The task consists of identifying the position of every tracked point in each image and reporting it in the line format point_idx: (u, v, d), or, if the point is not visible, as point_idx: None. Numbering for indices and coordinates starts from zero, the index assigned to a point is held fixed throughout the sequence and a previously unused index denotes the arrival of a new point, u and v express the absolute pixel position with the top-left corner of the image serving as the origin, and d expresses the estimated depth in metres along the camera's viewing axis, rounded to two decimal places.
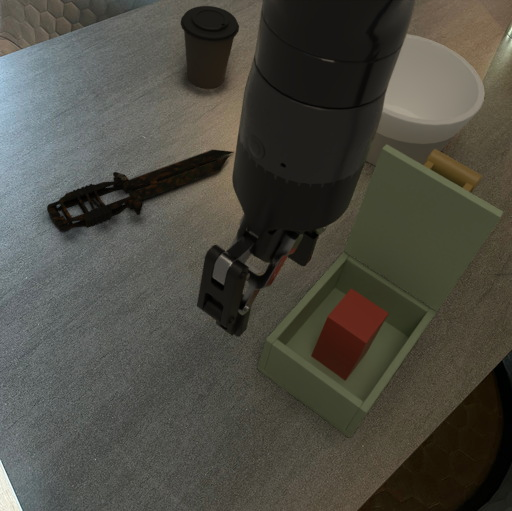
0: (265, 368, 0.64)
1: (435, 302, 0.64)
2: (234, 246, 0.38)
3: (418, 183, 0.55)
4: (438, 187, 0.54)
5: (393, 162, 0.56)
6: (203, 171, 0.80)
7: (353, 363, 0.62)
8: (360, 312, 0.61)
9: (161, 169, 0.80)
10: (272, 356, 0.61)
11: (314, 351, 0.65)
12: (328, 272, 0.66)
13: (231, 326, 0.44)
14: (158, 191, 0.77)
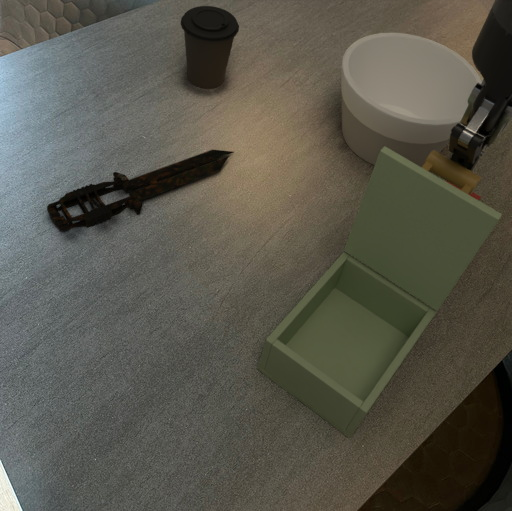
0: (265, 368, 0.64)
1: (435, 302, 0.64)
2: (471, 122, 0.51)
3: (416, 185, 0.55)
4: (436, 189, 0.54)
5: (391, 164, 0.55)
6: (203, 171, 0.80)
7: None
8: None
9: (161, 169, 0.80)
10: (272, 356, 0.61)
11: None
12: (328, 272, 0.66)
13: None
14: (158, 191, 0.77)
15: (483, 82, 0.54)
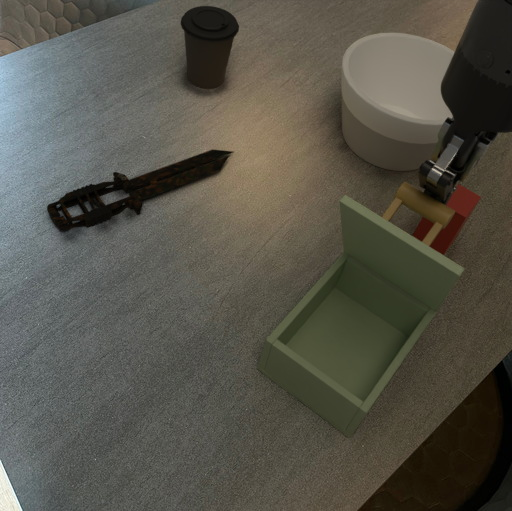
0: (265, 368, 0.64)
1: (432, 306, 0.64)
2: (440, 159, 0.48)
3: (380, 232, 0.53)
4: (398, 240, 0.52)
5: (353, 212, 0.54)
6: (203, 171, 0.80)
7: (450, 240, 0.75)
8: (458, 195, 0.73)
9: (161, 169, 0.80)
10: (272, 356, 0.61)
11: (414, 235, 0.78)
12: (328, 272, 0.66)
13: None
14: (158, 191, 0.77)
15: None
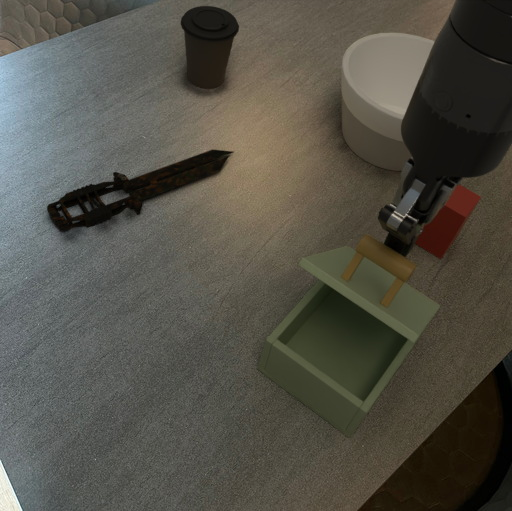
0: (265, 368, 0.64)
1: None
2: (400, 204, 0.45)
3: None
4: None
5: None
6: (203, 171, 0.80)
7: (450, 240, 0.75)
8: (458, 195, 0.73)
9: (161, 169, 0.80)
10: (272, 356, 0.61)
11: None
12: None
13: (401, 248, 0.53)
14: (158, 191, 0.77)
15: None
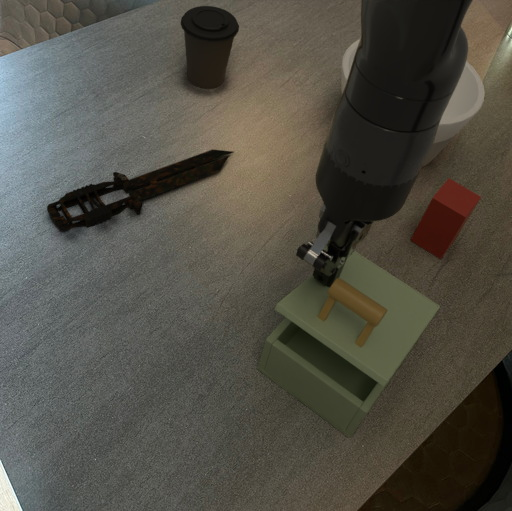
0: (265, 368, 0.64)
1: None
2: (315, 243, 0.51)
3: None
4: None
5: None
6: (203, 171, 0.80)
7: (450, 240, 0.75)
8: (458, 195, 0.73)
9: (161, 169, 0.80)
10: (272, 356, 0.61)
11: (414, 235, 0.78)
12: None
13: (327, 277, 0.58)
14: (158, 191, 0.77)
15: None
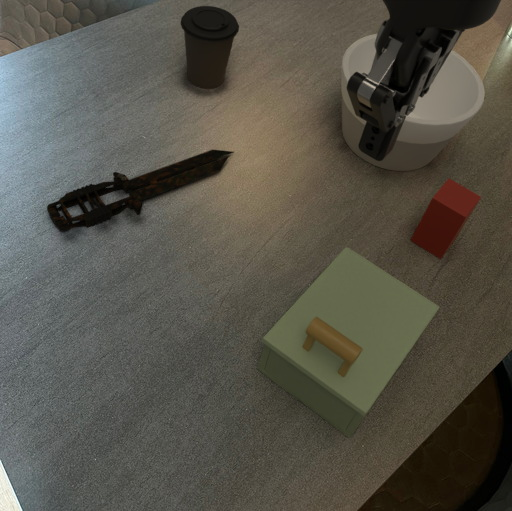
0: (265, 368, 0.64)
1: None
2: (373, 69, 0.37)
3: None
4: None
5: None
6: (203, 171, 0.80)
7: (450, 240, 0.75)
8: (458, 195, 0.73)
9: (161, 169, 0.80)
10: (272, 356, 0.61)
11: (414, 235, 0.78)
12: None
13: (379, 144, 0.45)
14: (158, 191, 0.77)
15: None
